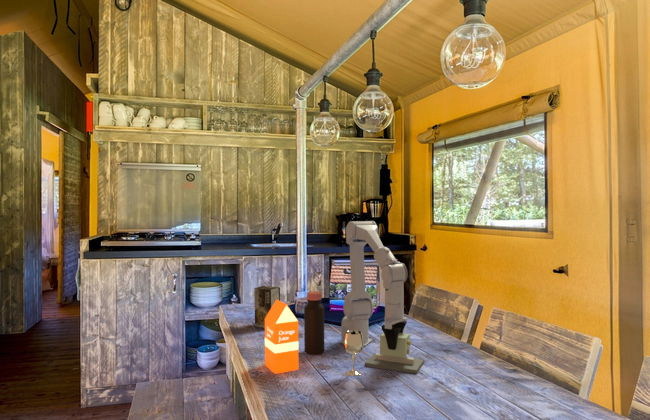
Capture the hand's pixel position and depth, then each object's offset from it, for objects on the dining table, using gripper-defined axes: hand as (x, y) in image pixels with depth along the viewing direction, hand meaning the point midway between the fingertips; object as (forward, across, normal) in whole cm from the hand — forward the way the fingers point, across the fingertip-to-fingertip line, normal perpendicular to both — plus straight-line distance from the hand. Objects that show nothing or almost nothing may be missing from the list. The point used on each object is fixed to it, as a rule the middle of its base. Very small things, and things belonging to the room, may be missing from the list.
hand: (394, 346), depth 137 cm
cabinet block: (+2, 0, 0) cm, 2 cm away
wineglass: (+6, -12, +9) cm, 16 cm away
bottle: (+6, +1, +28) cm, 29 cm away
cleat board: (+6, 0, 0) cm, 6 cm away
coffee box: (+6, +23, +60) cm, 65 cm away
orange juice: (+6, -16, +31) cm, 35 cm away
